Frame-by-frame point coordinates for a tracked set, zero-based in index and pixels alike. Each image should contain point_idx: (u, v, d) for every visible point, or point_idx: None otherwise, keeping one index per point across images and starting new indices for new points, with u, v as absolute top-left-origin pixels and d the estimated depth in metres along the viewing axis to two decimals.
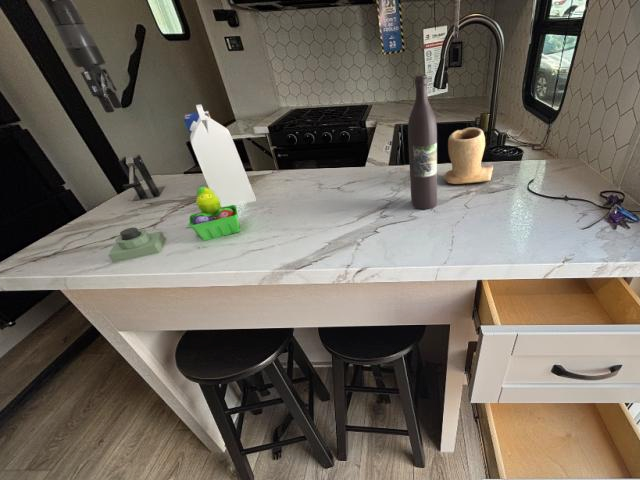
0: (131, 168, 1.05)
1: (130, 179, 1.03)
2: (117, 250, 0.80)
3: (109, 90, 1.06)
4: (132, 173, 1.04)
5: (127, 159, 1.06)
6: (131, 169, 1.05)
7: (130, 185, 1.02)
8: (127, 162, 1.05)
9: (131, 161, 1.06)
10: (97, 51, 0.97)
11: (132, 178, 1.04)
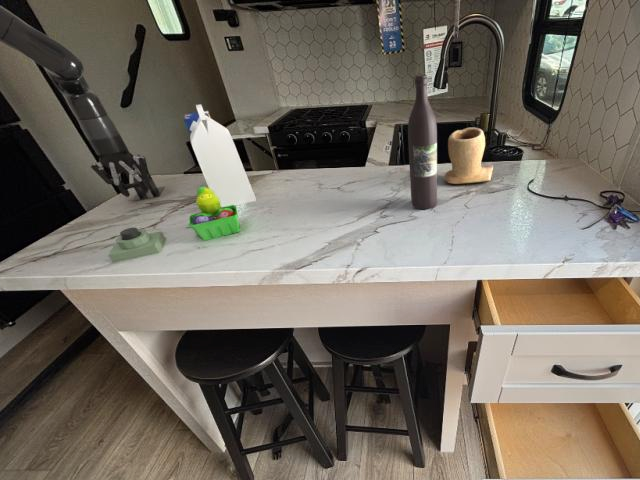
0: None
1: (130, 179, 1.03)
2: (117, 250, 0.80)
3: None
4: None
5: None
6: None
7: (130, 185, 1.02)
8: None
9: None
10: (98, 144, 0.92)
11: (132, 178, 1.04)
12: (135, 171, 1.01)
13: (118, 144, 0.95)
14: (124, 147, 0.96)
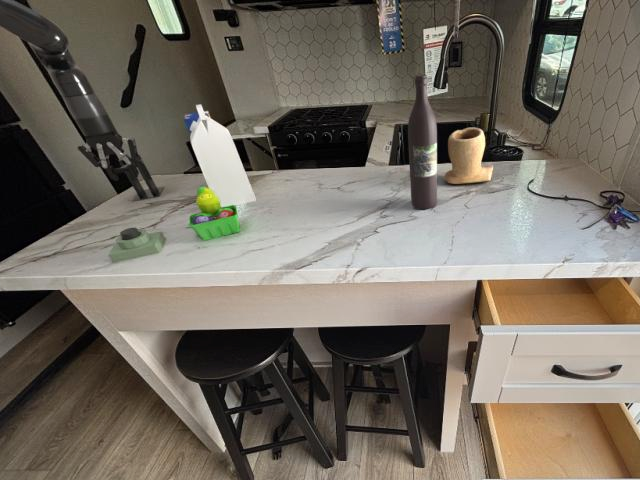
0: None
1: None
2: (117, 250, 0.80)
3: None
4: (127, 164, 1.03)
5: None
6: None
7: (119, 168, 0.99)
8: None
9: None
10: (85, 123, 0.88)
11: (124, 166, 1.01)
12: (124, 154, 0.97)
13: (106, 124, 0.91)
14: (112, 128, 0.92)
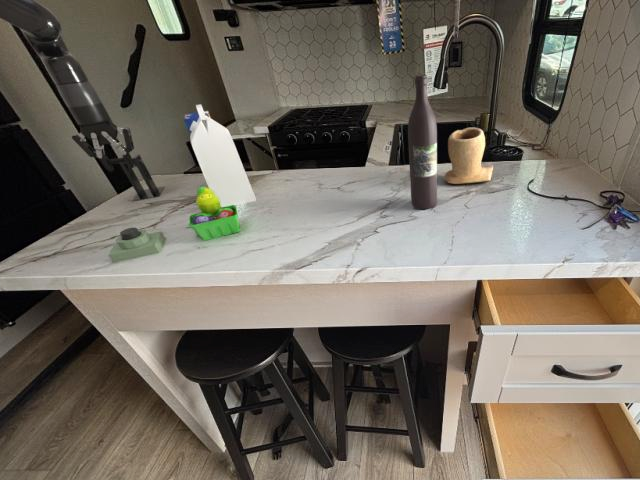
0: None
1: None
2: (117, 250, 0.80)
3: None
4: None
5: None
6: None
7: (115, 159, 0.97)
8: None
9: None
10: (79, 112, 0.87)
11: None
12: (119, 143, 0.96)
13: (100, 113, 0.89)
14: (107, 117, 0.91)
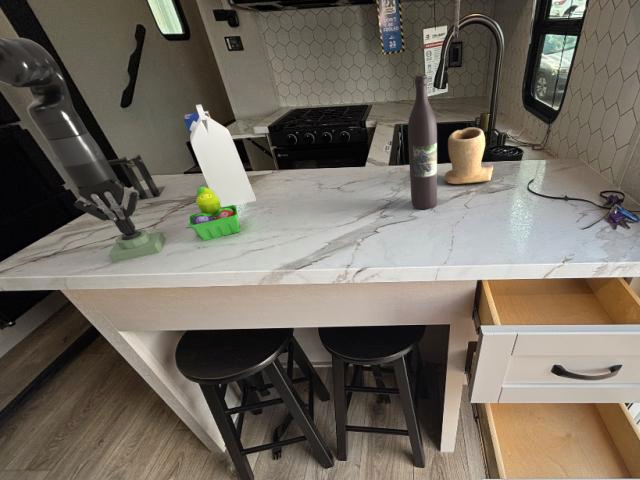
0: (127, 161, 1.04)
1: None
2: (117, 250, 0.80)
3: None
4: None
5: None
6: (127, 160, 1.04)
7: (115, 160, 0.97)
8: (126, 159, 1.06)
9: None
10: (75, 172, 0.68)
11: None
12: (121, 207, 0.77)
13: (103, 171, 0.71)
14: (111, 174, 0.73)
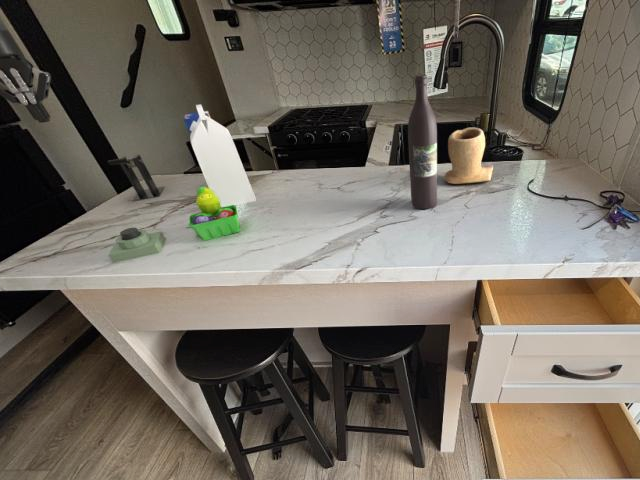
0: (127, 161, 1.04)
1: None
2: (117, 250, 0.80)
3: None
4: None
5: None
6: (127, 160, 1.04)
7: (115, 160, 0.97)
8: (126, 159, 1.06)
9: None
10: None
11: None
12: (31, 89, 0.77)
13: (5, 43, 0.70)
14: (16, 49, 0.72)
